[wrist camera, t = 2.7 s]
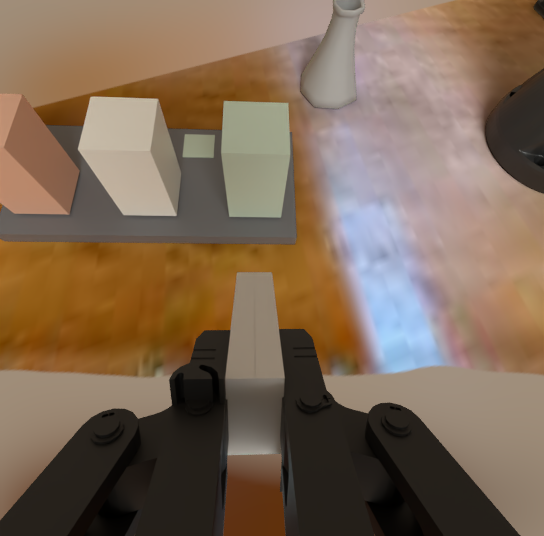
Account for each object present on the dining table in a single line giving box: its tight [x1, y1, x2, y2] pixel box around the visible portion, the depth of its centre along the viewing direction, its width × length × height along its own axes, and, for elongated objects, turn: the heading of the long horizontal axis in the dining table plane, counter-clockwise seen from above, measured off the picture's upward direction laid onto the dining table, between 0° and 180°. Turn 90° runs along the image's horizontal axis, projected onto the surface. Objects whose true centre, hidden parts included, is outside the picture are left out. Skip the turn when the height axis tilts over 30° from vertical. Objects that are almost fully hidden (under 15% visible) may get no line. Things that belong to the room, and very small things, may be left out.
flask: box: [301, 0, 365, 109], centre depth 37 cm, size 7×7×10 cm
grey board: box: [0, 125, 297, 244], centre depth 35 cm, size 28×13×2 cm, turn 91°
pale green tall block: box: [221, 101, 290, 218], centre depth 29 cm, size 5×5×9 cm
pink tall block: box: [0, 94, 80, 214], centre depth 28 cm, size 5×5×9 cm
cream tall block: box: [78, 97, 181, 216], centre depth 29 cm, size 5×5×9 cm
